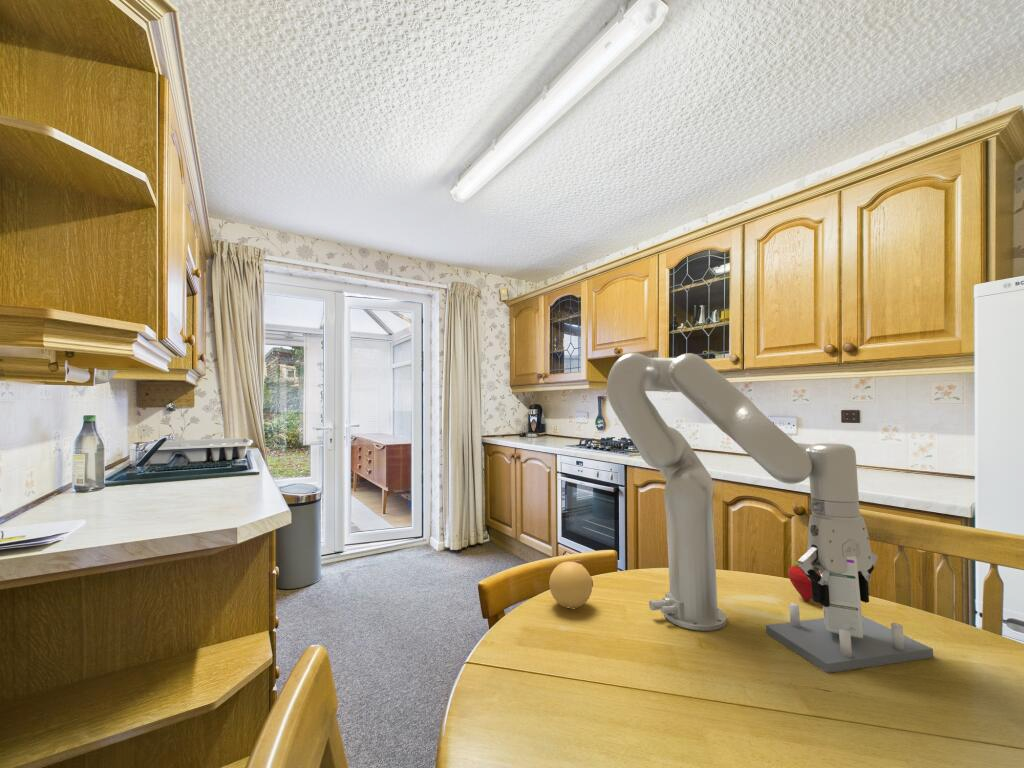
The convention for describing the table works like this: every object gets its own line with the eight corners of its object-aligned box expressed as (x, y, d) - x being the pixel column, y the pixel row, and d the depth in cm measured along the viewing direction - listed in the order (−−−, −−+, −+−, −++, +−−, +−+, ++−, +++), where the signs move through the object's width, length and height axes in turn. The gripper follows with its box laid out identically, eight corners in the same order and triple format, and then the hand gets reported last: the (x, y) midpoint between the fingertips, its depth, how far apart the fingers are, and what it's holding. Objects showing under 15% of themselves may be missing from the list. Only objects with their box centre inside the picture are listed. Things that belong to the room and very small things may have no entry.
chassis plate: (827, 672, 74) (825, 639, 75) (765, 632, 88) (764, 604, 89) (933, 657, 78) (930, 625, 79) (858, 621, 92) (856, 594, 92)
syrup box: (864, 639, 80) (859, 557, 81) (824, 631, 83) (819, 552, 84) (860, 626, 84) (855, 548, 85) (822, 618, 88) (817, 544, 88)
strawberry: (803, 592, 107) (800, 550, 108) (832, 605, 100) (829, 560, 100) (782, 595, 106) (780, 552, 106) (810, 608, 98) (807, 562, 99)
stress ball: (577, 623, 96) (607, 588, 99) (546, 589, 96) (577, 554, 99) (564, 611, 105) (592, 579, 108) (536, 580, 106) (564, 549, 109)
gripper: (812, 515, 80) (818, 615, 79) (892, 509, 83) (899, 606, 82) (780, 506, 87) (785, 598, 86) (854, 502, 90) (860, 590, 89)
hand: (840, 601), depth 84 cm, fingers closed on syrup box, 8 cm apart
